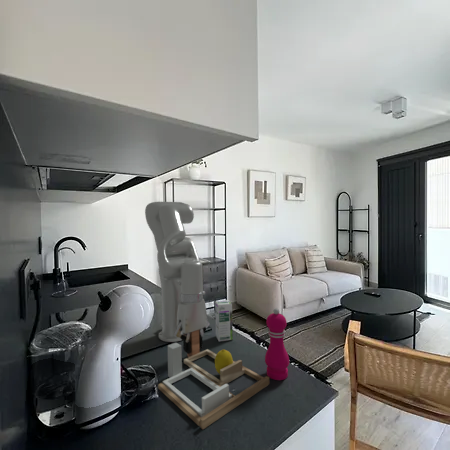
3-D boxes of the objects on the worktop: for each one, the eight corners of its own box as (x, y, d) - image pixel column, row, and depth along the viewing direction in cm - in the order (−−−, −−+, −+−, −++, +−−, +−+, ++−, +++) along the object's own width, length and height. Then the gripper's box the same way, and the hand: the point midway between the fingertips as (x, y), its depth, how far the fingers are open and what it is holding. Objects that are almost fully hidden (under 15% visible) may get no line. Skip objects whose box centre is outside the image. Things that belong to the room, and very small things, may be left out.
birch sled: (178, 359, 90) (178, 332, 89) (202, 349, 96) (201, 324, 96) (220, 387, 74) (219, 354, 74) (244, 373, 81) (244, 343, 81)
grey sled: (157, 380, 78) (156, 349, 78) (186, 367, 85) (185, 338, 84) (201, 419, 62) (200, 380, 62) (232, 399, 69) (231, 364, 69)
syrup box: (218, 342, 103) (217, 304, 103) (215, 335, 108) (214, 300, 108) (232, 340, 104) (232, 303, 104) (229, 334, 110) (228, 299, 110)
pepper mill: (265, 367, 85) (264, 304, 84) (288, 368, 83) (287, 305, 83) (265, 380, 77) (263, 312, 77) (290, 382, 76) (289, 313, 76)
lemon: (217, 383, 77) (217, 355, 77) (212, 372, 82) (212, 346, 82) (235, 379, 78) (235, 352, 78) (230, 369, 84) (229, 344, 84)
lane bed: (158, 388, 75) (158, 381, 75) (221, 358, 91) (221, 352, 91) (202, 429, 60) (202, 420, 60) (269, 384, 76) (269, 377, 76)
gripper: (204, 290, 100) (205, 338, 100) (164, 300, 89) (166, 354, 89) (217, 294, 95) (218, 345, 95) (177, 305, 83) (178, 363, 83)
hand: (193, 349), depth 92 cm, fingers open, 4 cm apart
